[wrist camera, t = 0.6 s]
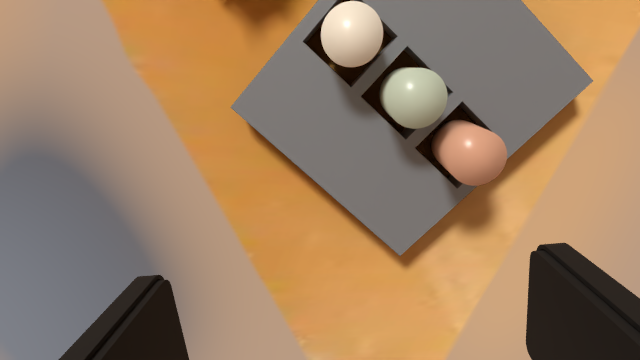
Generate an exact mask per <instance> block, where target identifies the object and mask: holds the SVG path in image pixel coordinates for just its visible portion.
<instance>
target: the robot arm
mask: <svg viewBox="0 0 640 360" xmlns="http://www.w3.org/2000/svg"><path fill="white" fill-rule="evenodd" d="M526 331H527V332H526V345H527V350H528V353H529V355H530V357H531V359H532V360H640V298H638V297H637V296H636V295H634V294H633V293H632V292H630V291H629V290H628V289H626V288H625V287H624V286H622V285H621V284H620V283H618V282H617V281H616V280H615V279H613V278H612V277H610V276H609V275H608V274H607V273H605V272H604V271H603V270H601V269H600V268H599V267H597V266H596V265H595V264H593V263H592V262H591V261H589V260H588V259H587V258H585V257H584V256H583V255H581V254H580V253H579V252H577V251H576V250H575V249H573V248H572V247H571V246H569V245H568V244H566V243H556V244H544V245H539V246H538V248H537V251H533V252H531V255H530V268H529V288H528V309H527V330H526ZM59 360H189V357H188V353H187V349H186V345H185V341H184V337H183V333H182V329H181V324H180V321H179V316H178V312H177V308H176V304H175V300H174V296H173V292H172V288H171V284H170V282H169V281H168V280H164V278H163V277H162V276H161V275H153V276H140V277H137V278H136V279H134V281H133V282H132V283H131V284H130V285H129V286H128V287H127V288H126V289H125V290H124V291H123V292H122V293H121V294H120V295H119V296H118V297H117V299H116V300H115V301H114V302H113V303H112V304H111V305H110V306H109V307H108V308H107V309H106V310H105V311H104V312H103V313H102V314H101V315H100V317H99V318H98V319H97V320H96V321H95V322H94V323H93V324H92V325H91V326H90V327H89V328H88V329H87V330H86V332H84V333H83V334H82V336H81V337H80V338H79V339H78V340H77V341H76V342H75V343H74V344H73V345H72V346H71V347H70V348H69V349H68V350H67V351H66V352H65V354H64V355H63V356H62V357H61V358H60V359H59Z"/></svg>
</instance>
